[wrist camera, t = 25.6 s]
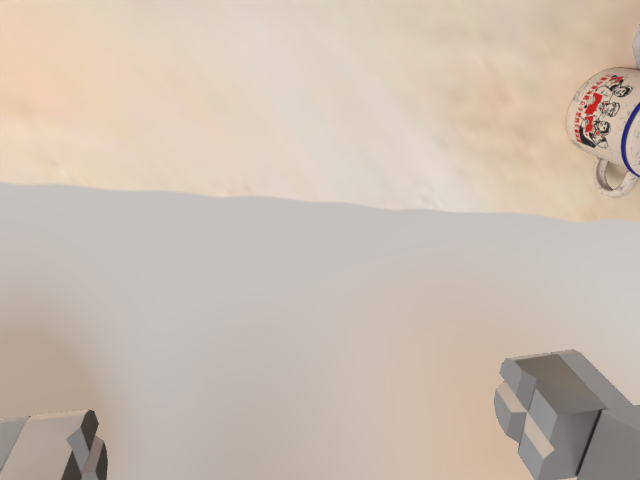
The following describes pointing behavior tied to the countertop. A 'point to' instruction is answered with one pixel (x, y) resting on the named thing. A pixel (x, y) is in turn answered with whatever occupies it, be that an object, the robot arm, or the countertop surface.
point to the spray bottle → (637, 48)
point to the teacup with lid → (609, 125)
